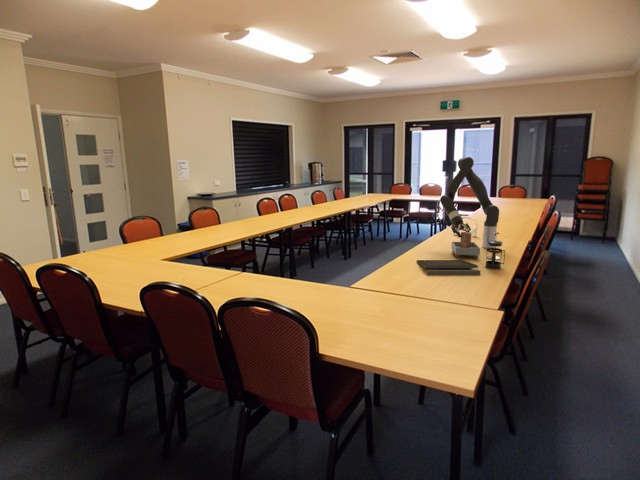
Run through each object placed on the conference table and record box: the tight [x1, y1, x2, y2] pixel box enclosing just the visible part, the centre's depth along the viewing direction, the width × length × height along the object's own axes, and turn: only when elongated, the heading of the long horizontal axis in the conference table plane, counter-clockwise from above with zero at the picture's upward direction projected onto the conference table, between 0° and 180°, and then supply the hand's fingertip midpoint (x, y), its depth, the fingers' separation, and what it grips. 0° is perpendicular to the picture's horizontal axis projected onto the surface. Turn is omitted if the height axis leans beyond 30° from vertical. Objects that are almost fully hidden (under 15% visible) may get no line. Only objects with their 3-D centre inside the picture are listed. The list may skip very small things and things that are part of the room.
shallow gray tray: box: [451, 241, 481, 260], centre depth 293 cm, size 16×20×8 cm
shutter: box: [416, 259, 481, 276], centre depth 263 cm, size 32×7×31 cm
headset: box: [453, 215, 478, 237], centre depth 362 cm, size 20×7×18 cm, turn 64°
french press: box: [484, 231, 506, 270], centre depth 261 cm, size 12×9×23 cm
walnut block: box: [459, 231, 473, 248], centre depth 291 cm, size 5×5×12 cm
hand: (465, 236), depth 292 cm, fingers open, 8 cm apart
